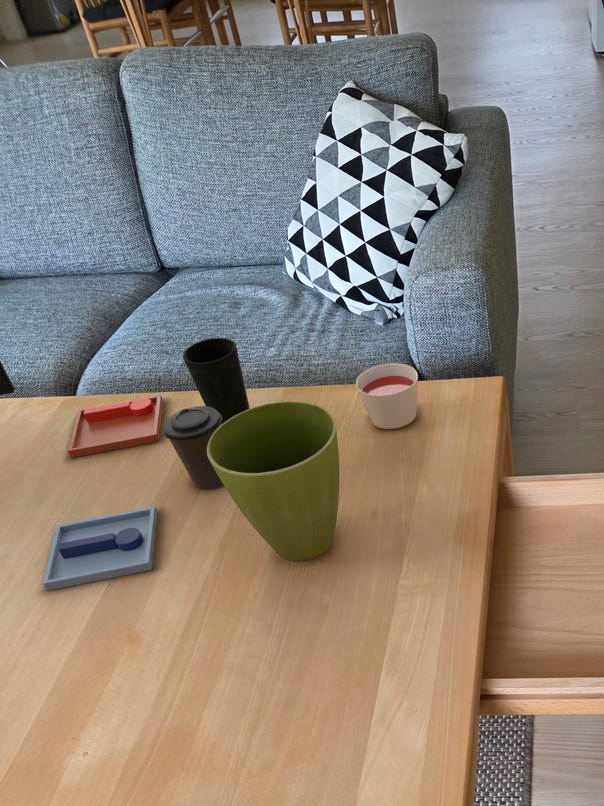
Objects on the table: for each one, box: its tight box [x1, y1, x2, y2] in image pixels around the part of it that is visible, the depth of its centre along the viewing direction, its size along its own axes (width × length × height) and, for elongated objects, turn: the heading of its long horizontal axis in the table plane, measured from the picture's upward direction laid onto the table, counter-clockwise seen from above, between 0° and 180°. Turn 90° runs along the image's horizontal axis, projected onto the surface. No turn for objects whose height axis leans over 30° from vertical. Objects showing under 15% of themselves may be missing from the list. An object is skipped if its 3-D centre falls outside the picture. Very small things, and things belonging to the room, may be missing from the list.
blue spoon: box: [59, 528, 144, 559], centre depth 113 cm, size 10×3×2 cm, turn 101°
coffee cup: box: [162, 405, 224, 490], centre depth 119 cm, size 8×8×10 cm
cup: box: [182, 337, 251, 425], centre depth 129 cm, size 8×8×12 cm
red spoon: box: [84, 397, 153, 423], centre depth 137 cm, size 10×3×2 cm, turn 101°
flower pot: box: [207, 400, 340, 562], centre depth 105 cm, size 15×15×16 cm
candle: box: [355, 362, 419, 430], centre depth 128 cm, size 9×9×6 cm
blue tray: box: [42, 506, 159, 591], centre depth 113 cm, size 13×12×1 cm
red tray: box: [67, 394, 164, 458], centre depth 135 cm, size 13×12×1 cm
